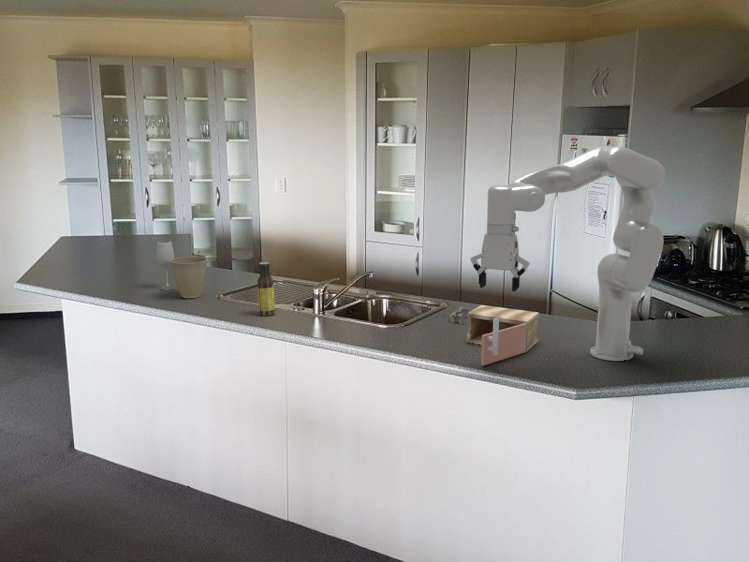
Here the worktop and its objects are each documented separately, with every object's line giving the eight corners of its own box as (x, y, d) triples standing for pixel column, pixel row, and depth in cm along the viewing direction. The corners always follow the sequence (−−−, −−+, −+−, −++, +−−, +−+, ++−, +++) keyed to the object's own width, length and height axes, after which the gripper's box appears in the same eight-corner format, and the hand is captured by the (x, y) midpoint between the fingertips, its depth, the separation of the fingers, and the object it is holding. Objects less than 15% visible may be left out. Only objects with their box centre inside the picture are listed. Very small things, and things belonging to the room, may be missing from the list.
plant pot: (195, 302, 284) (193, 264, 280) (165, 299, 289) (162, 261, 286) (216, 294, 297) (214, 257, 294) (187, 291, 303) (184, 255, 299)
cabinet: (537, 341, 231) (538, 312, 228) (525, 352, 220) (527, 321, 218) (480, 333, 240) (481, 305, 238) (466, 342, 230) (467, 313, 228)
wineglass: (155, 290, 305) (151, 242, 300) (163, 286, 312) (160, 240, 308) (171, 291, 304) (168, 243, 299) (179, 287, 311) (176, 240, 306)
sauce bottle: (278, 314, 266) (276, 262, 262) (265, 317, 262) (262, 265, 257) (268, 311, 271) (266, 260, 266) (255, 314, 266) (252, 262, 262)
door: (525, 350, 220) (526, 306, 217) (535, 354, 217) (538, 308, 214) (480, 364, 208) (482, 317, 205) (491, 368, 205) (493, 320, 202)
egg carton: (463, 316, 263) (463, 305, 262) (480, 319, 258) (480, 308, 257) (446, 322, 255) (447, 311, 254) (464, 325, 250) (464, 314, 249)
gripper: (534, 229, 196) (532, 289, 200) (476, 226, 205) (475, 282, 209) (525, 233, 190) (523, 294, 194) (466, 229, 199) (465, 288, 202)
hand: (498, 288), depth 201 cm, fingers open, 9 cm apart
